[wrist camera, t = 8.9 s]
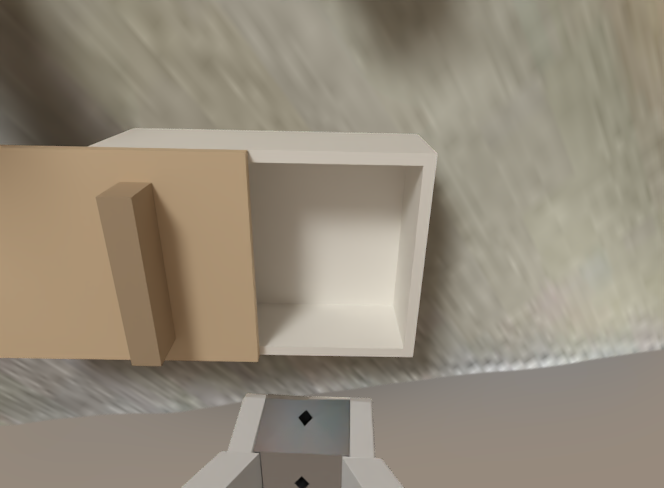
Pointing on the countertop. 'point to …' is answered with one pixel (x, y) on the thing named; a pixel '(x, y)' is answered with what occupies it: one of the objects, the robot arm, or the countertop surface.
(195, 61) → the countertop surface
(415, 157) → the base
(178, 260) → the tan box lid
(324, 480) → the robot arm
